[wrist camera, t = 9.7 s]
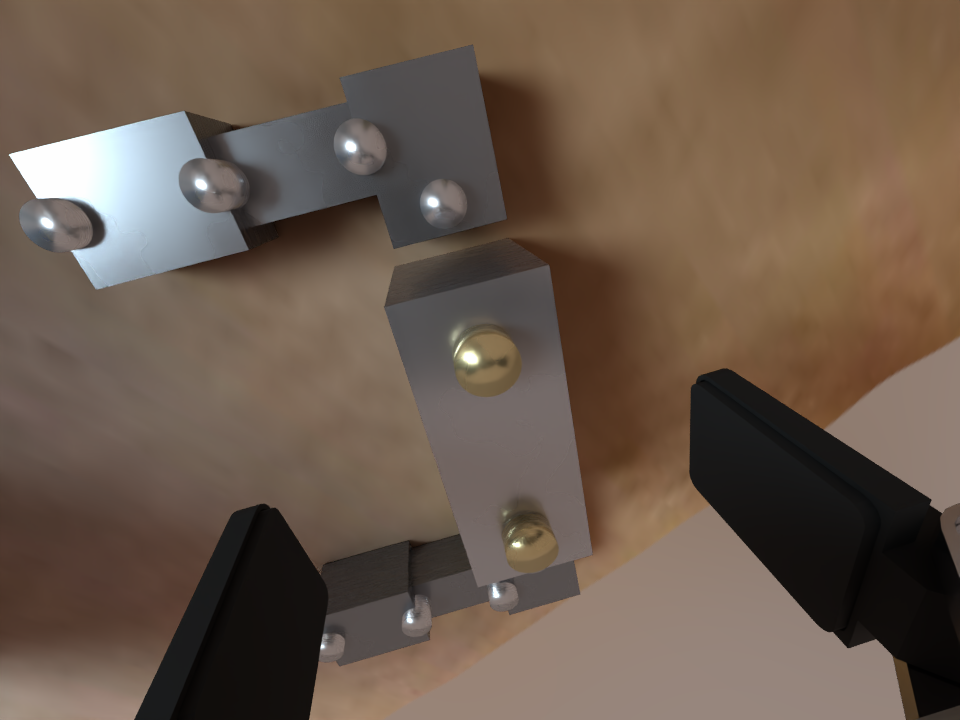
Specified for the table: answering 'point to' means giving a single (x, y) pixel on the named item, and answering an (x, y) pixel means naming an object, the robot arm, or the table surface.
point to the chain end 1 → (269, 173)
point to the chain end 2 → (418, 596)
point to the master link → (494, 403)
